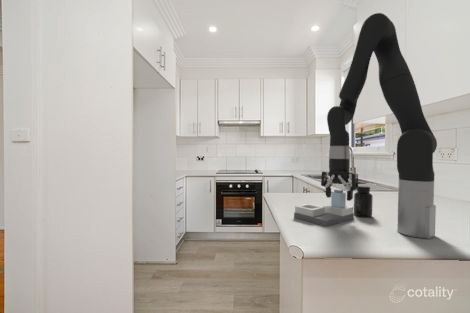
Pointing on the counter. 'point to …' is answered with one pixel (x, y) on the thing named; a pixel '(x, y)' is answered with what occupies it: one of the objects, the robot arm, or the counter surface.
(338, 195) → the plug
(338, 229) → the counter surface
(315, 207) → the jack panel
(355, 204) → the supplement bottle
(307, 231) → the counter surface
